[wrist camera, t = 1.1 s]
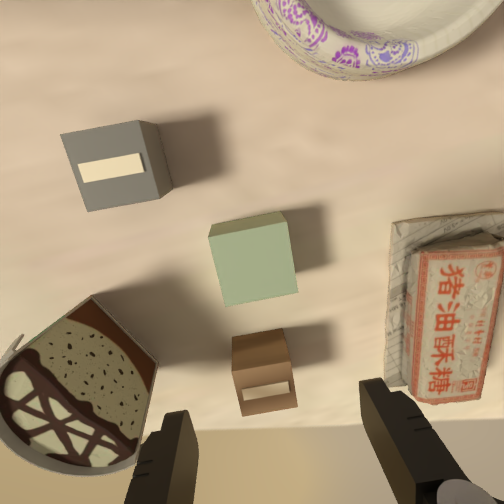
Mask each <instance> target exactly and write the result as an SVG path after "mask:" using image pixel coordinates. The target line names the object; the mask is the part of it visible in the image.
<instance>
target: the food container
mask: <svg viewBox="0 0 504 504" xmlns="http://www.w3.org/2000/svg"><path fill="white" fill-rule="evenodd" d="M23 337H24V335H23V334H21V335H20V336H19V337H18V338H17V339H16V340H15V341H14V342H13V343H12V344H11V345H10V347H9V348H8V349H7V351H6V352H5V354H4V355H3V356H2V358H1V359H0V440H1V441H2V442H3V443H4V445H5V446H6V447H7V448H8V449H10V450H11V451H12V452H14V453H15V454H16V455H17V456H19V457H20V458H22V459H23V460H25V461H27V462H28V463H31V464H33V465H35V466H37V467H39V468H42V469H44V470H47V471H50V472H54V473H58V474H62V475H69V476H76V477H94V476H103V475H108V474H113V473H116V472H119V471H122V470H125V469H127V468H129V467H131V466H134V465H135V463H136V460H138V456H139V453H140V450H141V447H142V445H143V444H144V443H143V444H141V440H142V435H143V431H144V426H145V422H146V417H147V413H148V408H149V404H150V400H151V395H152V391H153V386H154V382H155V377H156V373H157V368H158V364H159V362H158V361H157V360H156V359H155V358H154V357H153V356H152V355H151V354H150V353H149V352H148V351H147V350H146V349H145V348H144V347H143V346H142V345H141V344H140V343H139V342H138V341H137V340H136V339H135V338H134V337H133V336H132V335H131V334H130V333H129V332H128V331H127V330H126V329H125V328H124V327H123V326H122V325H121V324H120V323H119V322H118V321H117V320H116V319H115V318H114V317H113V316H112V315H111V314H110V313H109V312H108V311H107V310H106V309H105V308H104V307H103V306H102V305H101V304H100V303H99V302H98V301H97V300H96V299H95V298H94V297H93V296H92V295H90V296H89V297H88V298H86V299H85V300H84V301H82V302H81V303H80V304H78V305H77V306H76V307H74V308H73V309H72V310H70V311H69V312H68V313H66V314H65V315H64V316H62V317H61V318H60V319H58V320H57V321H56V322H54V323H53V324H52V325H50V326H49V327H48V328H46V329H45V330H44V331H42V332H41V333H40V334H38V335H37V336H36V337H34V338H33V339H32V340H30V341H29V342H28V343H26V344H25V345H24V346H22V347H21V348H20V349H18V350H17V351H16V350H15V349H16V347H17V346H18V344H19V343H20V341H21V340H22V338H23ZM140 444H141V445H140Z"/></svg>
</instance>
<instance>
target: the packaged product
mask: <svg viewBox="0 0 504 504" xmlns="http://www.w3.org/2000/svg"><path fill="white" fill-rule="evenodd" d="M503 272H504V213H501V212H485V213H476V214H466V215H457V216H443V217H430V218H417V219H410V220H405V221H400V222H395V223H392V225H391V237H390V259H389V285H388V298H387V311H386V319H385V338H386V344H385V354H384V382H385V384H386V386H387V387H399V386H406V385H408V390H409V392H410V393H411V395H412V396H414V397H415V399H416V400H417V401H419V402H423V403H429V404H431V405H438V404H440V403H444V404H446V403H449V402H456V403H457V402H465V401H471V400H479V399H480V398H481V392H482V388H483V384H484V378H485V375H486V367H487V362H488V360H489V351H490V348H491V346H490V345H491V342H492V337H493V330H494V326H495V322H496V314H497V309H498V302H499V296H500V294H501V287H502V282H503Z"/></svg>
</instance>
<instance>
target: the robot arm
mask: <svg viewBox="0 0 504 504" xmlns="http://www.w3.org/2000/svg"><path fill="white" fill-rule="evenodd" d="M359 393H360V407H361V417H362V421H363V425H364V428H365V430H366V433H367V435H368V437H369V440H370V442H371V444H372V446H373V448H374V451H375V453H376V455H377V458H378V460H379V462H380V464H381V466H382V469H383V471H384V473H385V475H386V478H387V480H388V482H389V484H390V486H391V489H392V491H393V493H394V495H395V498H396V500H397V502H398V504H504V501H501V500H498V499H496V498H494V497H492V496H490V495H489V494H488V493H487V492H486V491H485V490H483V489H482V488H481V487H479V486H477V485H475V484H473V483H472V482H471V481H470V480H469V479H468V478H467V476H466V475H465V474H464V472H463V471H462V470H461V468H460V467H459V465H458V464H457V462H456V461H455V460H454V458H453V457H452V455H451V454H450V452H449V451H448V449H447V448H446V446H445V445H444V443H443V442H442V440H441V439H440V438H439V436H438V435H437V433H436V432H435V430H434V429H432V426H431V425H430V423H429V422H428V420H427V419H426V418H425V417H424V414H423V413H422V411H421V410H420V409H419V407H418V406H417V404H416V403H415V401H413V400H412V399H411V398H410V397H408V396H407V395H406V394H404V393H403V392H402V391H395V392H390V390H389V389H388V387H387V386H386V384H385V382H384V381H383V379H382V378H374V379H368V380H362V381H359ZM198 458H199V450H198V442H197V438H196V434H195V431H194V428H193V425H192V421H191V418H190V415H189V412H188V410H182V411H176V412H170V413H166V414H165V416H164V419H163V423H162V427H161V431H155V432H151V434H150V435H149V437H148V438H147V440H146V441H145V442H144V444H143V445H142V447H141V450H140V453H139V456H138V460H137V466H135V469H134V473H133V479H131V482H130V485H129V488H128V492H127V495H126V498H125V501H124V504H193V501H194V493H195V484H196V476H197V467H198Z"/></svg>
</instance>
